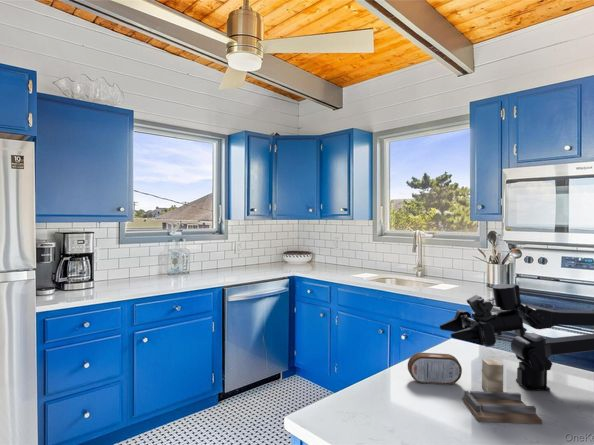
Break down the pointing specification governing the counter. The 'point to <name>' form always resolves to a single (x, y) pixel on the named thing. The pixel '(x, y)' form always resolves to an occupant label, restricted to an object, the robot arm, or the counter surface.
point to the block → (492, 375)
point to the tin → (434, 368)
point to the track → (500, 407)
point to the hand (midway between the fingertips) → (445, 331)
